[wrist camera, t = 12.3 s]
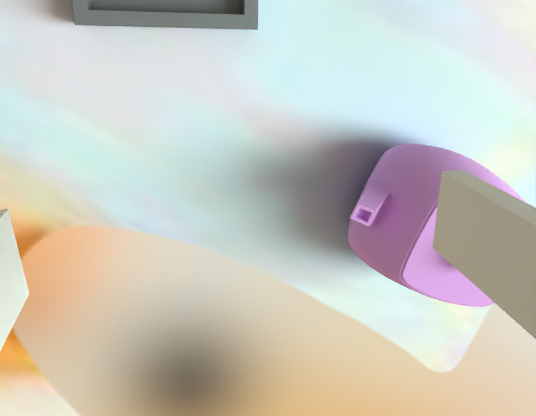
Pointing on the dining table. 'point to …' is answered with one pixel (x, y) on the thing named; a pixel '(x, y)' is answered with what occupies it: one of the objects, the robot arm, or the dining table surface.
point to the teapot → (413, 221)
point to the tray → (168, 13)
